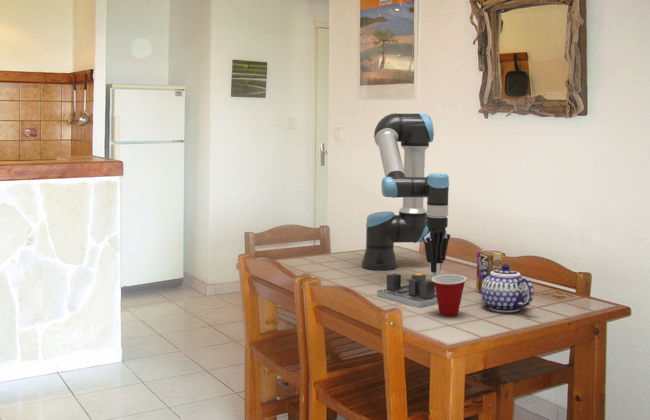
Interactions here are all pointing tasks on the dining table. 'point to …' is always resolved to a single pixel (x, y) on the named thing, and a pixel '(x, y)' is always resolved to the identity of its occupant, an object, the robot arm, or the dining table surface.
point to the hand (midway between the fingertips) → (435, 280)
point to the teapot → (505, 290)
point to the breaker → (419, 276)
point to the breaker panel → (407, 299)
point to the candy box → (486, 264)
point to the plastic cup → (449, 293)
